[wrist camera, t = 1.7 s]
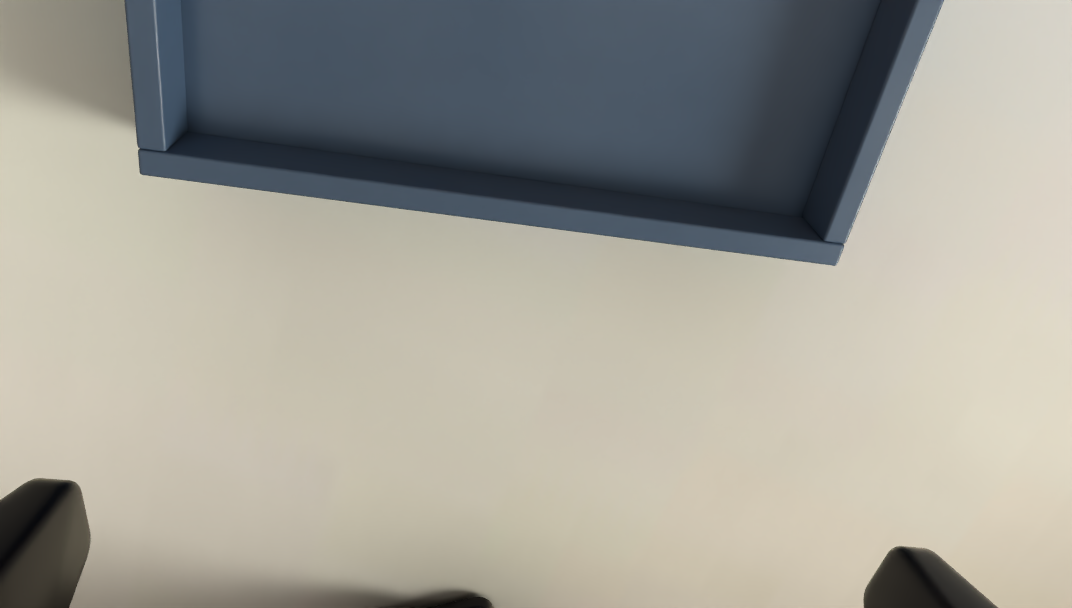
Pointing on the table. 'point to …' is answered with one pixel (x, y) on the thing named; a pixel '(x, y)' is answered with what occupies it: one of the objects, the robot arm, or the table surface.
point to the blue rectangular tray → (539, 109)
